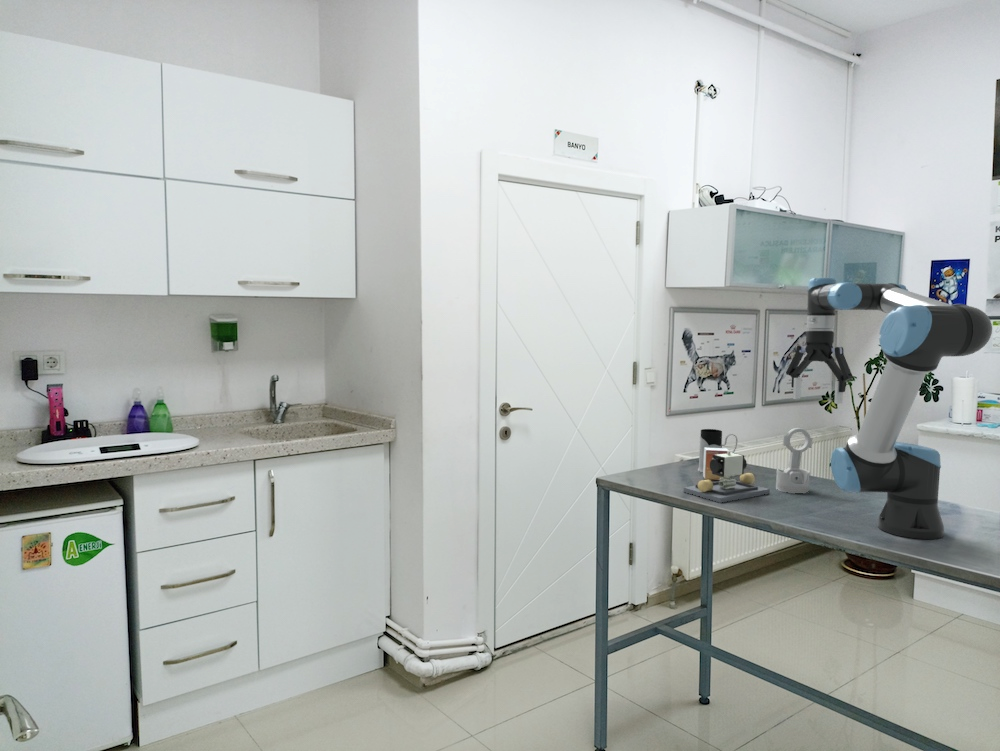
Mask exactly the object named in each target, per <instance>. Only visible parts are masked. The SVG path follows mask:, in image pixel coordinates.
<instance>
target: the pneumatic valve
mask: <svg viewBox="0 0 1000 751" xmlns="http://www.w3.org/2000/svg"><path fill="white" fill-rule="evenodd" d="M747 465H748V463H747V460H746V458H745V455H744V454H740V453H737V452H734V453H732V452H731V451H730V450H729V451H728V452H727V454H717V455H713V458H712V460H711V461H710V464H709V466H710V470H711V471H712V474H714V475H718V476H721V478H720V480H718V481H719V487H720V488H724V489H726V490H730V489H735V485H736V481H737V480H736V478H734V477H735V476H741V475H742V474H745V472H744V471H745V469H746V468H747ZM725 476H726V477H725ZM735 480H736V481H735Z"/></svg>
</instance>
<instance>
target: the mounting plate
mask: <svg viewBox="0 0 1000 751" xmlns="http://www.w3.org/2000/svg"><path fill="white" fill-rule="evenodd" d="M755 480H756V477H755V476H754V474H753V473H751V472H744V474H742V475H739V480H736V479H735V481H736V485H735V489H730V490H726V489H724V488H720V487H719V481H720V480H716V481H712V479H704V480H703V479H702V480H699V481H698V482H697V484H695V485H690V486H684V487H683V493H685V492H686V494H688V493H689V495H692V494H693V495H692V496H695V495H696V497H698V496H700V497H699V498H702V497H703V498H702V499H705V498H706V500H709V499H710V500H709V501H712V500H713V501H712V502H715V501H716V503H718V504H722V502H723V503H727V501H728V502H732V500H733V501H737V500H738V499H739V500H743V499H748V498H754V496H755V497H758V496H765V495H769V494H770V493H771V492H770V491H771V489H770V488H767V487H762V486H759V485H755V484H754V483H755ZM764 494H765V495H764Z"/></svg>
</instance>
